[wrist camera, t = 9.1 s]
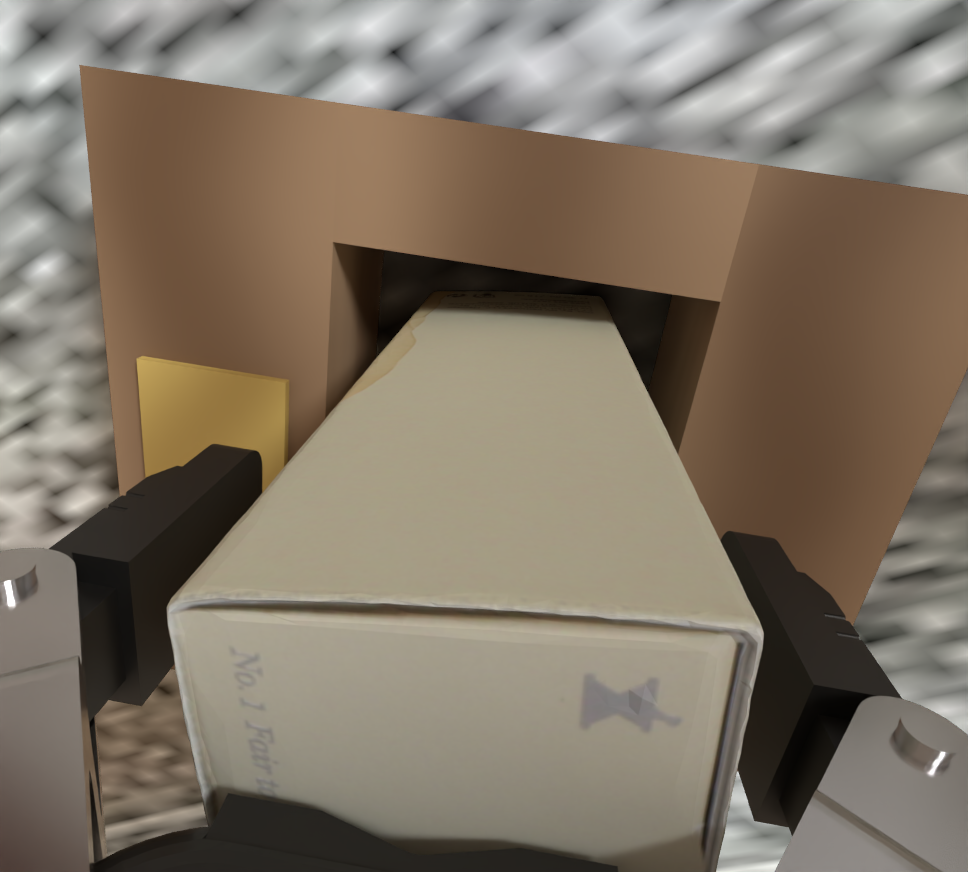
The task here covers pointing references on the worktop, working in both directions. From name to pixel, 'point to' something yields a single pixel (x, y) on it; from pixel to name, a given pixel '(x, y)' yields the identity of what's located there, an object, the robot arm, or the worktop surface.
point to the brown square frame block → (537, 249)
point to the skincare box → (480, 607)
